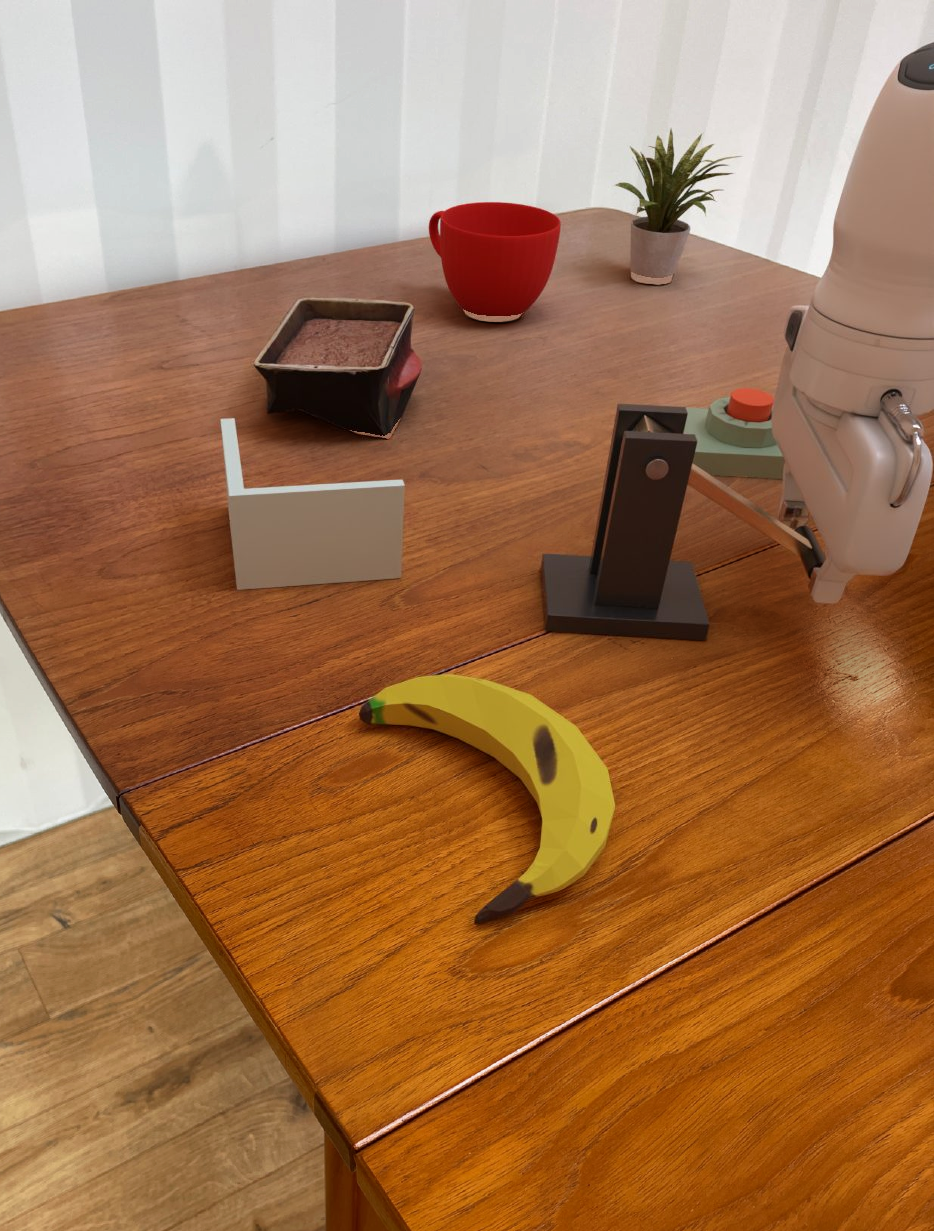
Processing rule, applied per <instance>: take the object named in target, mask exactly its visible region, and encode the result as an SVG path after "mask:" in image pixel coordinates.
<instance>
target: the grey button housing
mask: <svg viewBox="0 0 934 1231" xmlns="http://www.w3.org/2000/svg"><path fill="white" fill-rule="evenodd" d="M729 400H730V396H725V397H721V398H717V399H715V400H714V401H713V402H712V403H711V404H710V405H709V406H708V408H705V407H688V406H687V407H686V406H685V407H686V410H687V413H688V415H687V420H686V424H685V429H684V433H683V434H695V436H696V439H697V446H696V450H695V455H694V459H693V464H694V465H696V466H697V467H699V468H700V469H702V470H703V471H705V472H706V473H708V474H709V475H717V476H716V477H728V476H745V477H744V478H747V477H753V478H752V479H755V478H754V477H757V478H756V479H765V478H768V479H767V480H769V479H770V480H783V467H784V464H785V459H784V457H783V455H782V453H781V451H780V449H779V447H778V445H777V443H776V440H775V438H774V437H773V435H772V410H771V413H770V417H769V420H768V421H765V422H761V423H758V422H745V421H742V420H738V419H734V418H732V417H731V416H729V415H728V414H727V408H728V404H729ZM772 408H773V406H772ZM718 475H720V476H718ZM746 476H747V477H746Z"/></svg>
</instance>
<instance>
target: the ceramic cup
mask: <svg viewBox="0 0 934 1231" xmlns="http://www.w3.org/2000/svg"><path fill="white" fill-rule="evenodd" d="M561 226H562V222H561V219H560V218H559V217H558V216H557V215H556V214H554V213H553V212H551V211H548V210H546V209H543V208H540V207H535V206H532V205H526V204H521V203H515V202H504V201H503V202H501V201H482V202H481V201H480V202H469V203H468V202H467V203H463V204H458V205H454V206H451V207H449V208H447V209H445V210H438V211H435V212H434V213H433V214H432V215H431V217H430V219H429V221H428V235H429V238H430V242H431V245H432V247H433V249H434V251H435V252H436V254H437V255H438V256H439V257H440V259H441V260H440V262H441V267H442V272H443V275H444V280H445V282H446V286H447V288H448V290H449V293H450V294H451V296H452V298H453V299H454V301H455V302H456V303H457V305H458V306H459V307H460V309H461V310H462V309H464V310H466V311H468V312H471V313H474V314H477V315H486V316H511V315H518V314H521V313H523V312H524V313H525V312H526V311H528V310H529V309H530V308H531V307H532V305H533V304H534V303H535V302H536V301H537V300H538V298H539V297H540V296H541V294H542V293H543V291H544V289H545V287H546V286H547V283H548V282H549V279H550V276H551V274H552V271H553V267H554V264H555V261H556V256H557V251H558V246H559V241H560V235H561ZM524 313H523V314H524Z"/></svg>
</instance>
